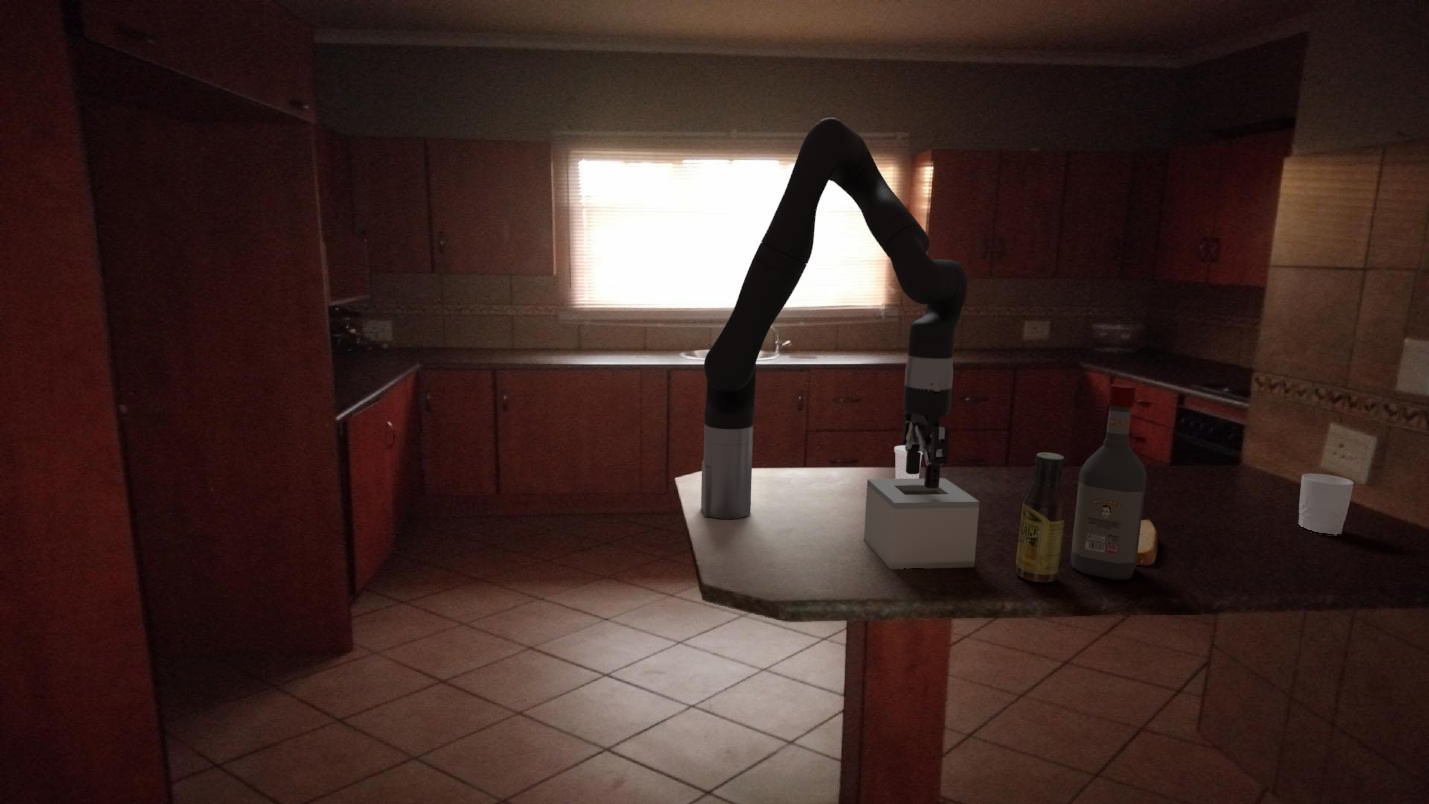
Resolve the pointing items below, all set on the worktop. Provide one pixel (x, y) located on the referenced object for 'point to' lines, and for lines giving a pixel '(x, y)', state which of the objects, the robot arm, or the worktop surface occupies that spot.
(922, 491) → the grey box with opening
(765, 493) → the worktop surface
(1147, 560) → the slice of bread
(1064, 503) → the sauce bottle
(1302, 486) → the white cup
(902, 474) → the beverage cup
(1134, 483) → the liquor
